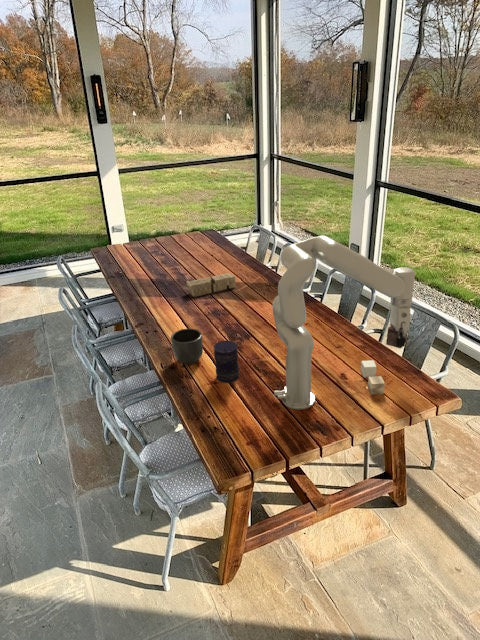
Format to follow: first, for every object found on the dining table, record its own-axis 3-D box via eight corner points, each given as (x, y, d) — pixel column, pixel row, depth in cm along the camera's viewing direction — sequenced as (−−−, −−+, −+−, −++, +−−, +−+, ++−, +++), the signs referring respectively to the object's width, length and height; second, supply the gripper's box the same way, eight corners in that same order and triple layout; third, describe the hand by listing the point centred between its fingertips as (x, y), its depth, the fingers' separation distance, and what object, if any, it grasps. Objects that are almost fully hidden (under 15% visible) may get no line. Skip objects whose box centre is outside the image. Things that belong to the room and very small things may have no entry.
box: (392, 338, 186) (393, 322, 183) (406, 342, 183) (408, 326, 179) (385, 344, 182) (387, 328, 179) (400, 349, 178) (402, 332, 175)
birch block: (370, 394, 181) (371, 384, 179) (367, 387, 185) (368, 376, 183) (383, 394, 181) (384, 383, 179) (380, 386, 185) (381, 376, 183)
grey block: (363, 377, 192) (364, 367, 189) (360, 370, 196) (361, 360, 194) (375, 376, 192) (376, 366, 189) (372, 370, 196) (373, 360, 194)
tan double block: (230, 285, 294) (187, 293, 283) (230, 272, 290) (186, 280, 279) (235, 289, 287) (191, 297, 276) (235, 276, 283) (190, 284, 273)
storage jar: (217, 370, 203) (214, 340, 196) (239, 369, 202) (237, 340, 195) (215, 383, 194) (212, 352, 187) (239, 382, 193) (236, 352, 186)
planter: (170, 357, 215) (167, 332, 209) (198, 349, 220) (196, 325, 214) (179, 371, 204) (175, 346, 198) (208, 363, 208) (206, 338, 202)
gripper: (419, 309, 166) (413, 351, 174) (404, 290, 182) (399, 329, 189) (398, 310, 166) (393, 352, 174) (384, 291, 182) (381, 330, 190)
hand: (396, 340), depth 182 cm, fingers closed on box, 8 cm apart
